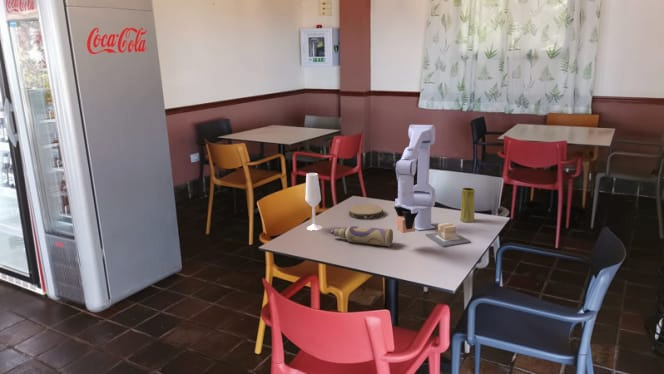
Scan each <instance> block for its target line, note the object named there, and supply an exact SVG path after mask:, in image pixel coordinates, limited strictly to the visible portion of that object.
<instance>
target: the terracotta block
mask: <svg viewBox="0 0 664 374" xmlns="http://www.w3.org/2000/svg"><path fill="white" fill-rule="evenodd" d="M396 230H397V231H399V232H400V233H402V234H406V233H413V232H415V230H416V229H415V220H414V223H413V227H412V229H406V225H405V218H404V216H398V215H397V216H396Z"/></svg>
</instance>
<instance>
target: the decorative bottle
mask: <svg viewBox="0 0 664 374" xmlns="http://www.w3.org/2000/svg"><path fill="white" fill-rule="evenodd" d="M330 234H331V235H333V236H335V237H339V238H341V239H346V240H347V242H349V243H357V244H365V245H372V246H373V245H374V246H375V245H376V246H383V247H389V248H390V247H391V246H392V244H393V241H394V232H393V229H392V228H382V227H372V226H359V225H350V226H348V228H345V227H344V228H333V229H331V230H330Z"/></svg>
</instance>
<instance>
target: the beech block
mask: <svg viewBox="0 0 664 374" xmlns="http://www.w3.org/2000/svg"><path fill="white" fill-rule="evenodd" d="M437 232H438V236H439V237H440V238H442V239H444V240H449V239H455V238H456V233H457V226H456V225H454V224H453V223H451V222H445V223H438V225H437Z"/></svg>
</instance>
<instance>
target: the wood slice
mask: <svg viewBox="0 0 664 374" xmlns="http://www.w3.org/2000/svg"><path fill="white" fill-rule="evenodd" d="M348 215H349V216H348V217H350V218H353V219H355V220H361V221H362V220H364V221H367V220H375V219H379V218H382V217H383V215H384V207H382V206H381V205H378V204H371V203H362V204H361V203H360V204H356V205H353V206H352V205H351V206H350V207H349V208H348Z"/></svg>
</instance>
